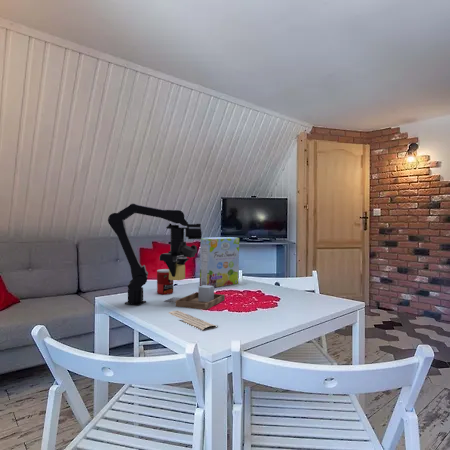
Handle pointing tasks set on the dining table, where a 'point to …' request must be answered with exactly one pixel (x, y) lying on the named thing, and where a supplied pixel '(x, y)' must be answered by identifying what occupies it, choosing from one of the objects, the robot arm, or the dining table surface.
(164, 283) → the canned food
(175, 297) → the slate pad
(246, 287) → the dining table surface
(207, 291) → the grey-blue block
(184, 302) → the walnut tray
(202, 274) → the snack box
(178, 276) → the mustard block
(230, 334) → the dining table surface
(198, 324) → the tan flat ridged strip
